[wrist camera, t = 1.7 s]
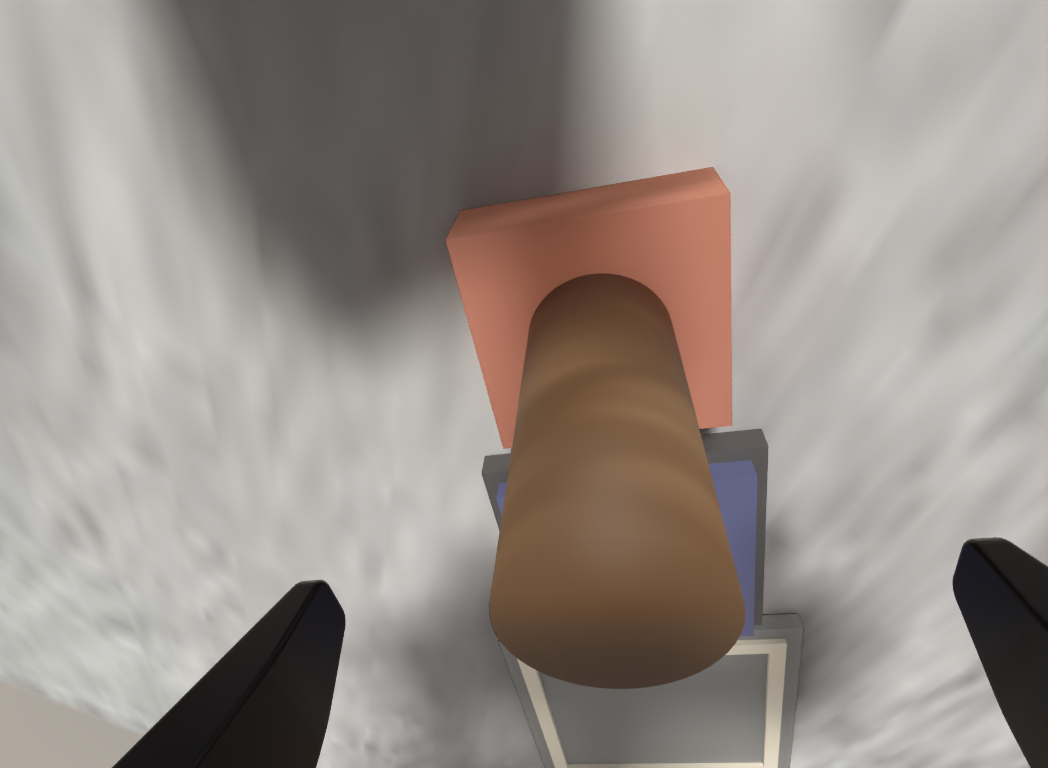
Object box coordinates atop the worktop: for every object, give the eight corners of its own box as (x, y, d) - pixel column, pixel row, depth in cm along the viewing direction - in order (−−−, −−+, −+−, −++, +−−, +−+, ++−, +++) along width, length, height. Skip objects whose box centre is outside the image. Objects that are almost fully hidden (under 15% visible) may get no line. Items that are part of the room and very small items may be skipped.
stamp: (712, 166, 14) (884, 422, 6) (717, 381, 17) (832, 728, 9) (460, 209, 15) (326, 476, 7) (510, 405, 18) (457, 736, 10)
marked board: (798, 613, 22) (805, 632, 22) (785, 760, 29) (790, 779, 28) (499, 627, 24) (497, 646, 24) (548, 762, 31) (547, 780, 30)
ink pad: (761, 428, 18) (774, 463, 17) (756, 605, 22) (766, 642, 21) (485, 456, 19) (478, 489, 18) (533, 617, 24) (530, 652, 23)
